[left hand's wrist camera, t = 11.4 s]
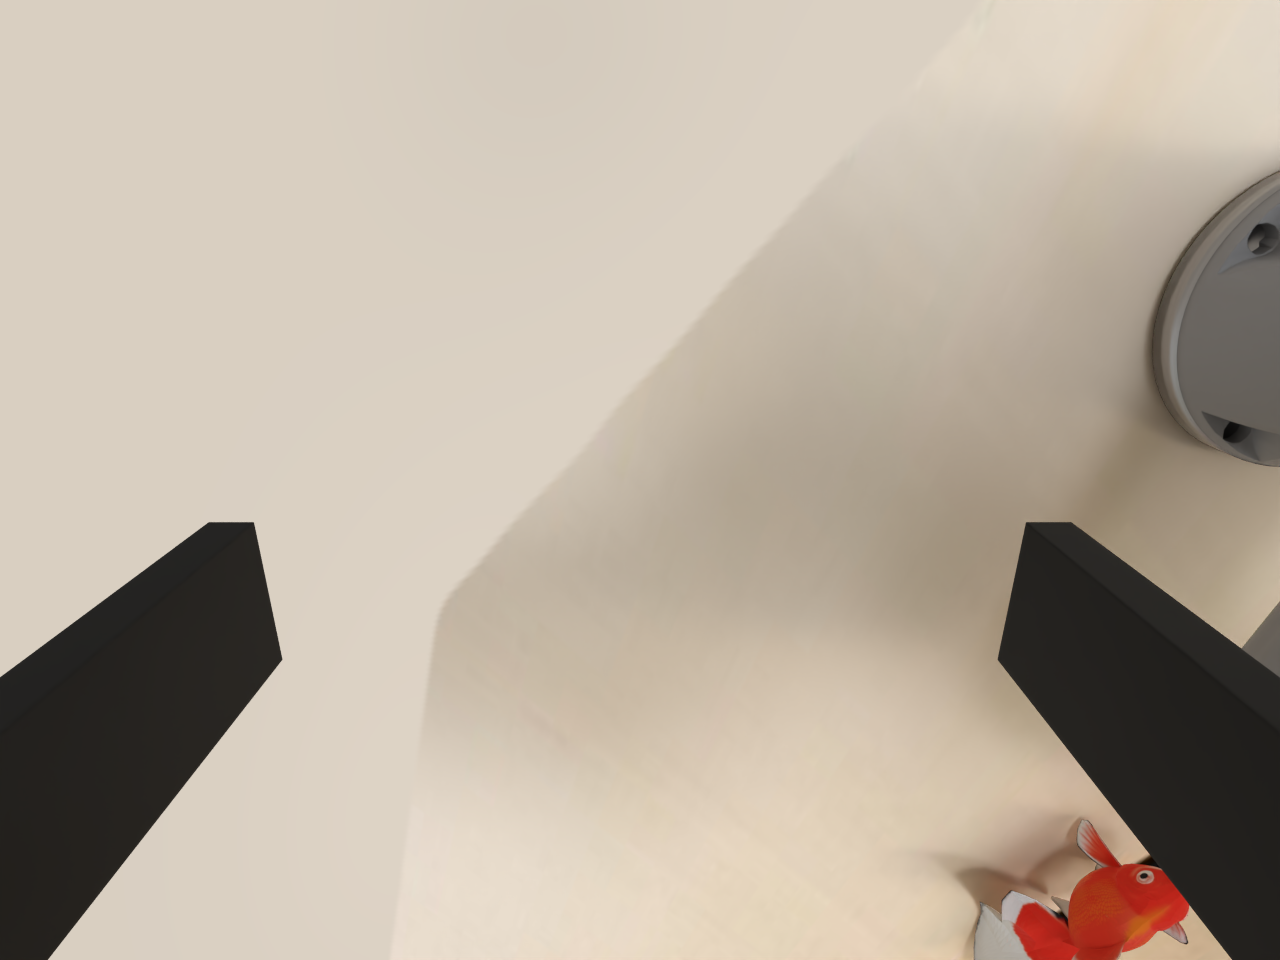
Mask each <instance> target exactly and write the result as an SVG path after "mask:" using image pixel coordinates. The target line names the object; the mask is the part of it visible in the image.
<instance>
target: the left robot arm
mask: <svg viewBox="0 0 1280 960" xmlns="http://www.w3.org/2000/svg"><path fill="white" fill-rule="evenodd" d="M1152 355H1153V368H1154V374H1155V379H1156V383H1157V386H1158V389H1159V392H1160V395H1161V397H1162V399H1163V401H1164V404H1165V405H1166V407H1167V409H1168V410H1169V412H1170V413H1171V415H1172V416H1173V417H1174V419H1175V420H1176V421H1177V422H1178V424H1179V425H1180V426H1182V427H1183V428H1184V429H1185V430H1186V431H1187V432H1188V433H1189V434H1191V435H1192V436H1193V437H1195V438H1196V439H1198V440H1199V441H1201V442H1203V443H1205V444H1207V445H1209V446H1211V447H1213V448H1216V449H1218V450H1220V451H1223V452H1225V453H1227V454H1230V455H1232V456H1234V457H1237V458H1239V459H1242V460H1245V461H1248V462H1251V463H1255V464H1260V465H1266V466H1275V467H1280V171H1279V172H1277V173H1275V174H1273V175H1272V176H1270V177H1268V178H1266V179H1264V180H1263V181H1261V182H1259V183H1258V184H1256V185H1255V186H1253V187H1251V188H1250V189H1248V190H1247V191H1246V192H1244V193H1243V194H1242V195H1240V196H1239V197H1238V198H1236V199H1235V200H1234V201H1233V202H1231V203H1230V204H1229V205H1228V206H1227V207H1226V208H1224V209H1223V210H1222V211H1221V212H1220V213H1219V214H1218V215H1217V216H1216V217H1215V218H1214V219H1213V220H1212V221H1211V222H1210V223H1209V224H1208V225H1207V226H1206V227H1205V229H1204V230H1203V231H1202V232H1201V233H1200V234H1199V236H1198V237H1197V238H1196V239H1195V241H1194V242H1193V243H1192V245H1191V246H1190V247H1189V249H1188V250H1187V251H1186V253H1185V255H1184V256H1183V258H1182V259H1181V261H1180V263H1179V264H1178V266H1177V268H1176V269H1175V271H1174V273H1173V275H1172V277H1171V279H1170V281H1169V283H1168V286H1167V288H1166V290H1165V293H1164V295H1163V298H1162V301H1161V304H1160V307H1159V310H1158V314H1157V318H1156V323H1155V328H1154V336H1153V352H1152ZM281 661H282V655H281V651H280V646H279V641H278V636H277V631H276V627H275V622H274V617H273V612H272V607H271V603H270V598H269V593H268V588H267V583H266V578H265V574H264V569H263V564H262V559H261V554H260V550H259V545H258V540H257V535H256V530H255V526H254V523H253V522H209V523H207V524H206V525H205V526H203V527H202V528H201V529H199V530H198V531H197V532H195V533H194V534H192V535H191V536H190V537H188V538H187V539H186V540H184V541H183V542H182V543H180V544H179V545H178V546H176V547H175V548H174V549H172V550H171V551H170V552H168V553H167V554H166V555H164V556H163V557H162V558H160V559H159V560H158V561H156V562H155V563H154V564H152V565H151V566H149V567H148V568H147V569H145V570H144V571H143V572H141V573H140V574H139V575H137V576H136V577H135V578H133V579H132V580H131V581H129V582H128V583H127V584H125V585H124V586H122V587H121V588H120V589H118V590H117V591H116V592H114V593H113V594H112V595H110V596H109V597H108V598H106V599H105V600H104V601H102V602H101V603H100V604H98V605H97V606H96V607H94V608H93V609H92V610H90V611H89V612H87V613H86V614H85V615H83V616H82V617H81V618H79V619H78V620H77V621H75V622H74V623H73V624H71V625H70V626H69V627H67V628H66V629H65V630H63V631H62V632H61V633H59V634H58V635H57V636H55V637H54V638H52V639H51V640H50V641H48V642H47V643H46V644H44V645H43V646H42V647H40V648H39V649H38V650H36V651H35V652H34V653H32V654H31V655H30V656H28V657H27V658H26V659H24V660H23V661H22V662H20V663H19V664H17V665H16V666H15V667H14V668H12V669H11V670H9V671H8V672H7V673H5V674H4V675H3V676H1V677H0V960H48V959H49V958H50V956H51V955H52V954H53V952H54V951H55V950H56V949H57V947H58V946H59V945H60V943H61V942H62V941H63V940H64V938H65V937H66V936H67V934H68V933H69V932H70V931H71V929H72V928H73V927H74V925H75V924H76V923H77V922H78V920H79V919H80V918H81V917H82V915H83V914H84V913H85V911H86V910H87V909H88V908H89V906H90V905H91V904H92V902H93V901H94V900H95V899H96V897H97V896H98V895H99V894H100V892H101V891H102V890H103V888H104V887H105V886H106V885H107V883H108V882H109V881H110V879H111V878H112V877H113V876H114V874H115V873H116V872H117V870H118V869H119V868H120V867H121V865H122V864H123V863H124V861H125V860H126V859H127V858H128V856H129V855H130V854H131V853H132V851H133V850H134V849H135V847H136V846H137V845H138V844H139V842H140V841H141V840H142V839H143V837H144V836H145V835H146V833H147V832H148V831H149V830H150V828H151V827H152V826H153V824H154V823H155V822H156V821H157V819H158V818H159V817H160V815H161V814H162V813H163V812H164V810H165V809H166V808H167V807H168V805H169V804H170V803H171V801H172V800H173V799H174V798H175V796H176V795H177V794H178V792H179V791H180V790H181V789H182V787H183V786H184V785H185V783H186V782H187V781H188V780H189V778H190V777H191V776H192V775H193V773H194V772H195V771H196V769H197V768H198V767H199V766H200V764H201V763H202V762H203V760H204V759H205V758H206V757H207V755H208V754H209V753H210V752H211V750H212V749H213V748H214V746H215V745H216V744H217V743H218V741H219V740H220V739H221V737H222V736H223V735H224V734H225V732H226V731H227V730H228V728H229V727H230V726H231V725H232V723H233V722H234V721H235V720H236V718H237V717H238V716H239V714H240V713H241V712H242V711H243V709H244V708H245V707H246V705H247V704H248V703H249V702H250V700H251V699H252V698H253V696H254V695H255V694H256V693H257V691H258V690H259V689H260V687H261V686H262V685H263V684H264V682H265V681H266V680H267V679H268V677H269V676H270V675H271V673H272V672H273V671H274V670H275V668H276V667H277V666H278V664H279V663H280V662H281ZM998 661H999V662H1000V663H1001V665H1002V666H1003V667H1004V668H1005V670H1006V671H1007V672H1008V673H1009V675H1010V676H1011V677H1012V679H1013V680H1014V681H1015V682H1016V684H1017V685H1018V686H1019V688H1020V689H1021V690H1022V691H1023V693H1024V694H1025V695H1026V697H1027V698H1028V699H1029V700H1030V702H1031V703H1032V704H1033V705H1034V707H1035V708H1036V709H1037V711H1038V712H1039V713H1040V714H1041V716H1042V717H1043V718H1044V720H1045V721H1046V722H1047V723H1048V725H1049V726H1050V727H1051V728H1052V730H1053V731H1054V732H1055V734H1056V735H1057V736H1058V737H1059V739H1060V740H1061V741H1062V743H1063V744H1064V745H1065V746H1066V748H1067V749H1068V750H1069V752H1070V753H1071V754H1072V755H1073V757H1074V758H1075V759H1076V760H1077V762H1078V763H1079V764H1080V766H1081V767H1082V768H1083V769H1084V771H1085V772H1086V773H1087V775H1088V776H1089V777H1090V778H1091V780H1092V781H1093V782H1094V784H1095V785H1096V786H1097V787H1098V789H1099V790H1100V791H1101V792H1102V794H1103V795H1104V796H1105V798H1106V799H1107V800H1108V801H1109V803H1110V804H1111V805H1112V807H1113V808H1114V809H1115V810H1116V812H1117V813H1118V814H1119V815H1120V817H1121V818H1122V819H1123V821H1124V822H1125V823H1126V824H1127V826H1128V827H1129V828H1130V830H1131V831H1132V832H1133V833H1134V835H1135V836H1136V837H1137V839H1138V840H1139V841H1140V842H1141V844H1142V845H1143V846H1144V847H1145V849H1146V850H1147V851H1148V853H1149V854H1150V855H1151V856H1152V858H1153V859H1154V860H1155V862H1156V863H1157V864H1158V865H1159V867H1160V868H1161V869H1162V871H1163V872H1164V873H1165V874H1166V876H1167V877H1168V878H1169V879H1170V881H1171V882H1172V883H1173V885H1174V886H1175V887H1176V888H1177V890H1178V891H1179V892H1180V894H1181V895H1182V896H1183V897H1184V899H1185V900H1186V901H1187V902H1188V904H1189V905H1190V906H1191V908H1192V909H1193V910H1194V911H1195V913H1196V914H1197V915H1198V917H1199V918H1200V919H1201V920H1202V922H1203V923H1204V924H1205V926H1206V927H1207V928H1208V929H1209V931H1210V932H1211V933H1212V934H1213V936H1214V937H1215V938H1216V940H1217V941H1218V942H1219V943H1220V945H1221V946H1222V947H1223V949H1224V950H1225V951H1226V952H1227V954H1228V955H1229V956H1230V958H1231V959H1232V960H1280V602H1279V603H1278V604H1277V606H1276V607H1275V608H1274V609H1273V610H1272V612H1271V613H1270V614H1269V615H1268V617H1267V618H1266V619H1265V620H1264V622H1263V623H1262V624H1261V625H1260V626H1259V628H1258V629H1257V630H1256V631H1255V633H1254V634H1253V635H1252V636H1251V638H1250V639H1249V640H1248V641H1247V642H1246V644H1245V645H1244V646H1243V647H1242V649H1241V648H1240V647H1238V646H1237V645H1236V644H1234V643H1233V642H1232V641H1230V640H1229V639H1228V638H1226V637H1225V636H1223V635H1222V634H1221V633H1219V632H1218V631H1217V630H1215V629H1214V628H1213V627H1211V626H1210V625H1209V624H1207V623H1206V622H1205V621H1203V620H1202V619H1201V618H1199V617H1198V616H1197V615H1195V614H1194V613H1193V612H1191V611H1190V610H1188V609H1187V608H1186V607H1184V606H1183V605H1182V604H1180V603H1179V602H1178V601H1176V600H1175V599H1174V598H1172V597H1171V596H1170V595H1168V594H1167V593H1166V592H1164V591H1163V590H1162V589H1160V588H1159V587H1158V586H1156V585H1155V584H1153V583H1152V582H1151V581H1149V580H1148V579H1147V578H1145V577H1144V576H1143V575H1141V574H1140V573H1139V572H1137V571H1136V570H1135V569H1133V568H1132V567H1131V566H1129V565H1128V564H1127V563H1125V562H1124V561H1123V560H1121V559H1120V558H1119V557H1117V556H1116V555H1114V554H1113V553H1112V552H1110V551H1109V550H1108V549H1106V548H1105V547H1104V546H1102V545H1101V544H1100V543H1098V542H1097V541H1096V540H1094V539H1093V538H1092V537H1090V536H1089V535H1088V534H1086V533H1085V532H1084V531H1082V530H1081V529H1079V528H1078V527H1077V526H1075V525H1074V524H1073V523H1071V522H1026V526H1025V530H1024V535H1023V540H1022V545H1021V550H1020V554H1019V559H1018V564H1017V569H1016V574H1015V578H1014V583H1013V588H1012V593H1011V598H1010V603H1009V607H1008V612H1007V617H1006V622H1005V627H1004V631H1003V636H1002V641H1001V646H1000V651H999V655H998Z"/></svg>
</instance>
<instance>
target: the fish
mask: <svg viewBox="0 0 1280 960" xmlns="http://www.w3.org/2000/svg"><path fill="white" fill-rule="evenodd" d="M1077 845H1078V847H1079V848H1080V849H1081V850H1082V851H1083V852H1084V853H1085V854H1086V855H1087V856H1088V857H1089V858H1091V859H1092V860H1093V861H1094V862H1096V863H1097V865H1096V867H1095V871H1093V872H1091V873H1089V874H1088V875H1087V876H1085V877H1084V878H1083V879H1081V880H1080V881H1079V882H1078V884H1077V885H1076V887H1075V889H1074V890H1073V893H1072V895H1071V899H1070V902H1069V901H1066V900H1063V899H1060V898H1056V897H1053V896H1052V897H1051V899H1052V900H1053V901H1054V902H1055V903H1056V904H1057V906H1058V907H1059V908H1060V909H1061V910H1062V912H1063V913H1064V914H1065V915H1066V917H1067V918H1068V922H1067V921H1066V920H1065V919H1064V917H1063V916H1061V915H1060V914H1058V913H1056V912H1055V911H1053V910H1052V909H1050V908H1048V907H1047V906H1045V905H1043V904H1042V903H1040V902H1038V901H1037V900H1035V899H1033V898H1030V897H1028V896H1026V895H1023V894H1020V893H1017V892H1015V891H1012V890H1011V891H1010V892H1009V893H1008V894H1007V895H1006V896H1005V897H1004V898H1003V899H1002V914H1001V913H999V912H998V911H996V910H995V909H994V908H992V907H990V906H988V905H986V904H984V903H982V902H980V905H981V915H980V918H979V920H978V923H977V928H976V933H975V941H974V960H1118V959H1119V957H1120V955H1121V952H1126V951H1130V950H1133V949H1135V948H1138V947H1140V946H1142V945H1144V944H1145V943H1146V942H1148V941H1149V940H1150V939H1151V938H1152V936H1153V935H1154V934H1155V933H1156V932H1157V931H1164V932H1165V933H1167V934H1168V935H1170V936H1171V937H1173V938H1175V939H1176V940H1178V941H1179V942H1181V943H1184V944H1187V943H1188V940H1187V937H1186V934H1185V932H1184V929H1183V928H1182V926H1181V925H1180V924H1179V921H1182V920H1184V919H1185V918H1186V917H1187V916H1188V910H1189V904H1188V902H1187V901H1186V900H1185V899H1184V897H1183V896H1182V895H1181V894H1180V892H1179V891H1178V890H1177V888H1176V887H1175V886H1174V885H1173V883H1172V882H1171V881H1170V879H1169V878H1168V877H1167V876H1166V874H1165V873H1164V872H1163V871H1162V869H1160V868H1157V867H1153V866H1148V865H1139V864H1125V865H1123V866H1121V864H1120V863H1119V862H1118V861H1117V860H1116V858H1115V857H1114V856H1113V855H1112V853H1111V852H1110V851H1109V849H1108V848H1107V846H1106V845H1105V844H1104V842H1103V841H1102V840H1101V838H1100V837H1099V835H1098V834H1097V832H1096V831H1095V829H1094V828H1093V826H1092V824H1091V823H1090V822H1089V821H1088V820H1081V822H1080V825H1079V827H1078V830H1077Z"/></svg>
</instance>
